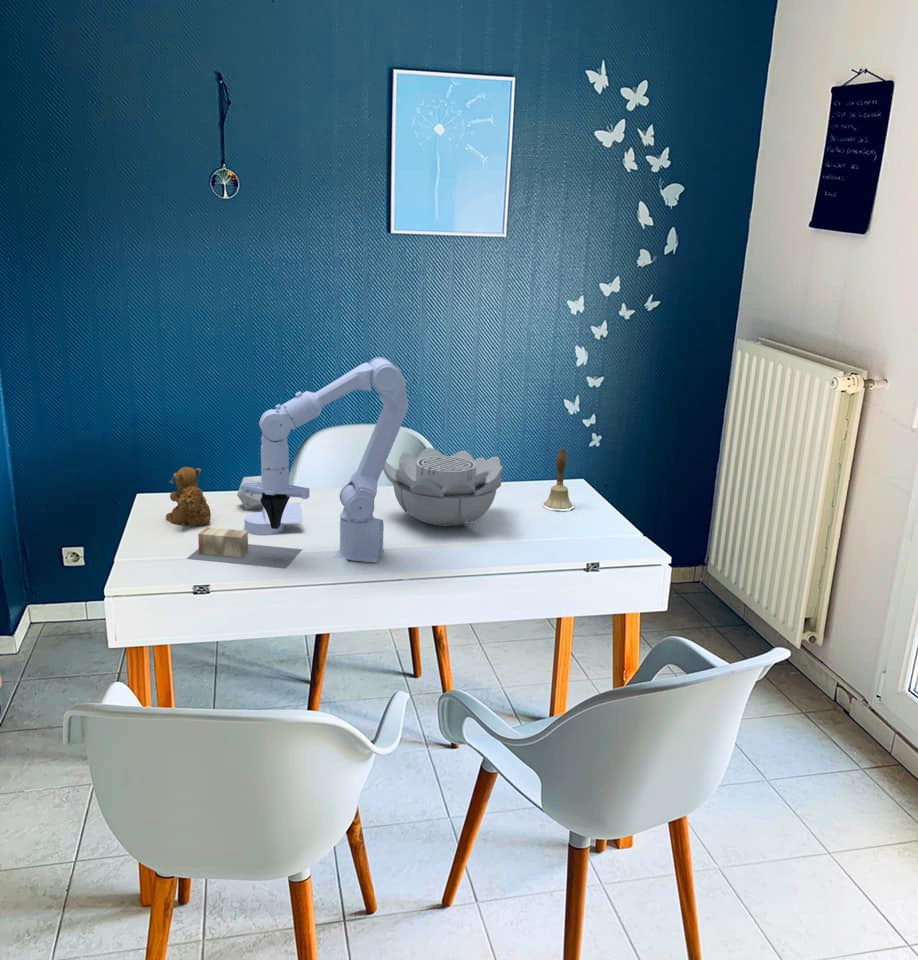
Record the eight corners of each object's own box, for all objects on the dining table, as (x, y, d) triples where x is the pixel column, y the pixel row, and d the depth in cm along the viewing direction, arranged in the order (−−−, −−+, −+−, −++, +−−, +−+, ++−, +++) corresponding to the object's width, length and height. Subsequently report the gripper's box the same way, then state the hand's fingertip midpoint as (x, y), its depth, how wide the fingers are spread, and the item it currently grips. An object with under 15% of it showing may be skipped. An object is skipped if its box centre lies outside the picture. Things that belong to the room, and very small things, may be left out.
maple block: (247, 531, 209) (206, 527, 210) (240, 537, 205) (198, 533, 206) (248, 550, 210) (207, 546, 211) (240, 557, 206) (198, 553, 207)
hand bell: (536, 504, 255) (540, 446, 251) (562, 501, 259) (566, 444, 254) (553, 513, 248) (558, 454, 244) (580, 510, 252) (585, 451, 247)
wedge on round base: (297, 523, 231) (243, 526, 228) (297, 497, 230) (242, 499, 226) (302, 535, 223) (246, 538, 219) (302, 508, 221) (245, 510, 217)
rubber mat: (302, 551, 212) (302, 549, 212) (285, 570, 201) (285, 568, 201) (208, 542, 215) (208, 540, 215) (186, 561, 204) (186, 558, 204)
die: (230, 509, 241) (235, 486, 234) (244, 485, 247) (249, 462, 240) (260, 522, 242) (265, 499, 234) (274, 498, 247) (279, 475, 240)
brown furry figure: (203, 511, 237) (201, 460, 233) (223, 528, 225) (221, 474, 222) (163, 516, 231) (160, 464, 228) (181, 534, 220) (179, 479, 216)
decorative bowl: (457, 551, 217) (460, 488, 213) (361, 521, 234) (362, 462, 230) (529, 521, 241) (533, 464, 237) (437, 496, 258) (439, 442, 254)
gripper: (235, 468, 199) (236, 530, 202) (302, 474, 197) (302, 536, 201) (247, 460, 205) (248, 520, 209) (312, 465, 204) (312, 525, 207)
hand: (275, 527), depth 205 cm, fingers closed
